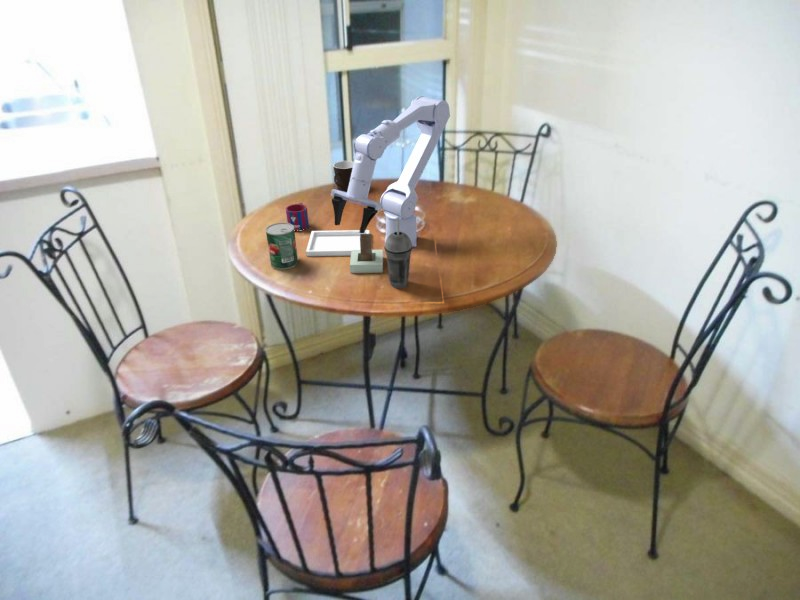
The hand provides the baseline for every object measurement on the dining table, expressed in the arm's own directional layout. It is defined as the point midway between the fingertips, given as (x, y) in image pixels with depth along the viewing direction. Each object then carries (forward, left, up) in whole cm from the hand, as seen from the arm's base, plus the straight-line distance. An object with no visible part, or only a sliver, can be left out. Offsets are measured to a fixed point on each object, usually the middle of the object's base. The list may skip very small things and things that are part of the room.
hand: (349, 228), depth 157 cm
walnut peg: (-5, +1, -11) cm, 12 cm away
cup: (+18, -28, -11) cm, 35 cm away
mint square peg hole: (-5, +1, -11) cm, 12 cm away
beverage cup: (-14, +12, -11) cm, 22 cm away
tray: (+4, -12, -11) cm, 17 cm away
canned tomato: (+20, -2, -11) cm, 23 cm away
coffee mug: (+6, -57, -11) cm, 58 cm away
